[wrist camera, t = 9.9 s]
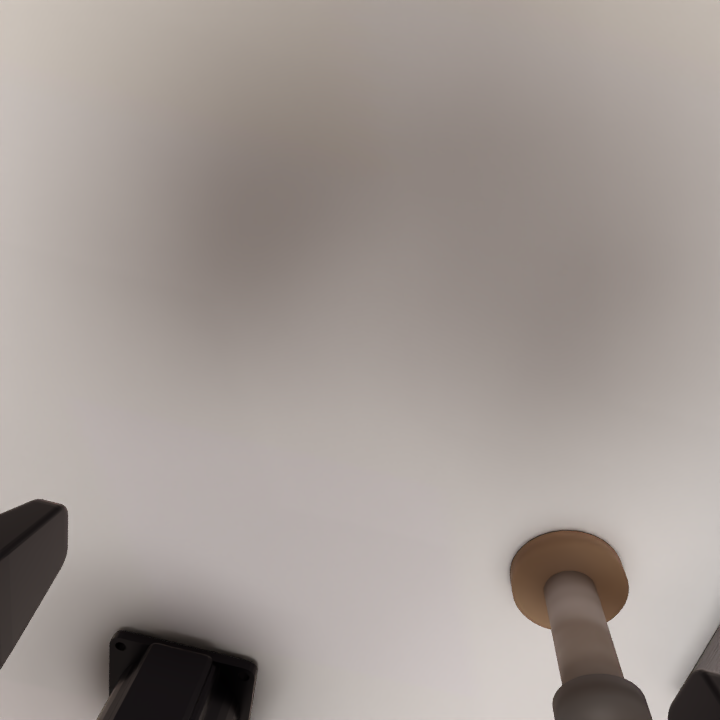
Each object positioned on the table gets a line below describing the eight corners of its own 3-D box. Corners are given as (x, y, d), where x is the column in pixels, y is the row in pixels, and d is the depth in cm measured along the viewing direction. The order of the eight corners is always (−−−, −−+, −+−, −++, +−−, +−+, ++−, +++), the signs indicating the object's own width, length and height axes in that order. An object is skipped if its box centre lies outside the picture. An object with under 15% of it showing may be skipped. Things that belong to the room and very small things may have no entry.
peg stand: (600, 625, 23) (649, 788, 18) (497, 601, 23) (514, 755, 18) (639, 545, 21) (706, 698, 16) (527, 519, 22) (555, 662, 16)
